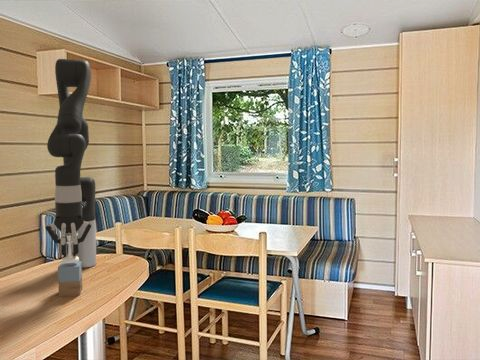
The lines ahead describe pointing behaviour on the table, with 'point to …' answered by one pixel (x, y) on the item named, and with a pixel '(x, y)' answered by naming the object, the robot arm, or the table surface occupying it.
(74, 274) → the slate-blue block
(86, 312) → the table surface
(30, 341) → the table surface
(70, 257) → the chess piece
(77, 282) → the walnut block
